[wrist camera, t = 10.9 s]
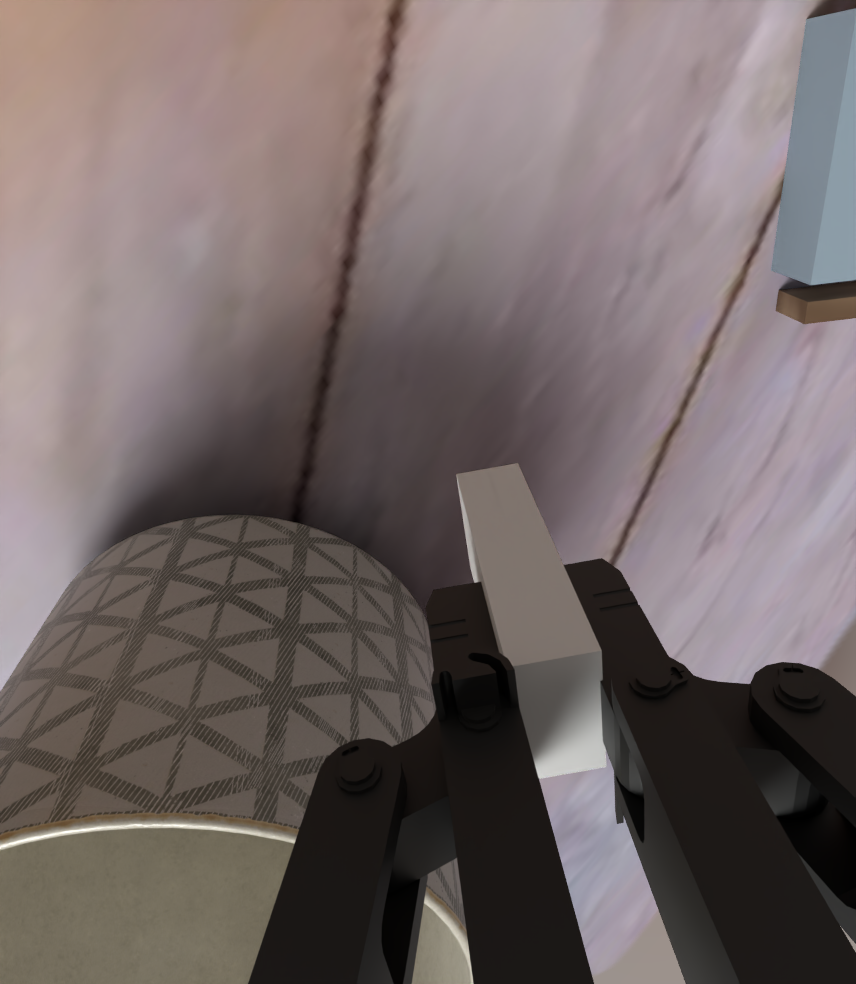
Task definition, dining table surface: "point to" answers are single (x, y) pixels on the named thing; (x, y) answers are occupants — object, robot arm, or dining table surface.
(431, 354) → the dining table surface
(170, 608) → the planter
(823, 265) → the t block
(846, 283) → the frame
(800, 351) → the dining table surface
